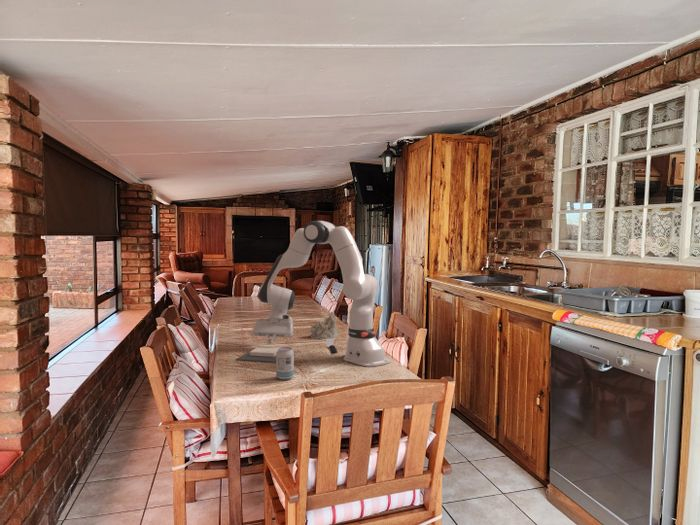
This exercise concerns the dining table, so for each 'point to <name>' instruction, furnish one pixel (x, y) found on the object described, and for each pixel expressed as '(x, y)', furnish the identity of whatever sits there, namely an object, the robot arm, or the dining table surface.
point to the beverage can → (284, 363)
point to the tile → (264, 351)
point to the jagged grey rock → (325, 328)
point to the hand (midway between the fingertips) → (269, 343)
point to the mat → (256, 358)
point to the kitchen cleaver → (331, 345)
